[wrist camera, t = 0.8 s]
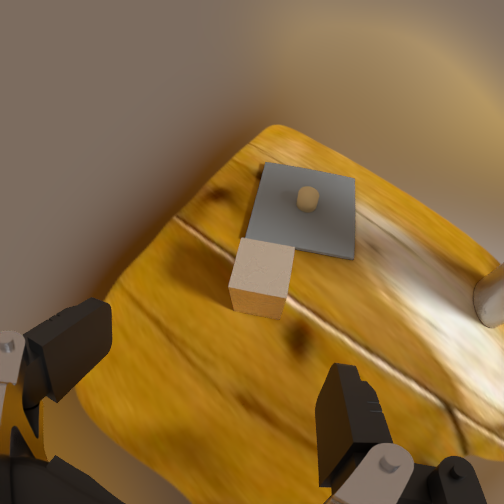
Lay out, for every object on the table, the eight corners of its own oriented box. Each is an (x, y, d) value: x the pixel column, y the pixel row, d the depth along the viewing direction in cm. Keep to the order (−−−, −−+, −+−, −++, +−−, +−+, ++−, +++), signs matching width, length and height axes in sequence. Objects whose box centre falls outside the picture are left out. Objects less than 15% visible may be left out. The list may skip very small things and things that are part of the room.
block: (287, 277, 38) (295, 247, 31) (279, 319, 36) (286, 298, 28) (244, 269, 39) (241, 237, 32) (233, 310, 36) (228, 286, 29)
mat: (353, 180, 47) (358, 168, 44) (352, 260, 40) (359, 249, 37) (265, 164, 49) (266, 151, 46) (245, 240, 41) (244, 228, 39)
